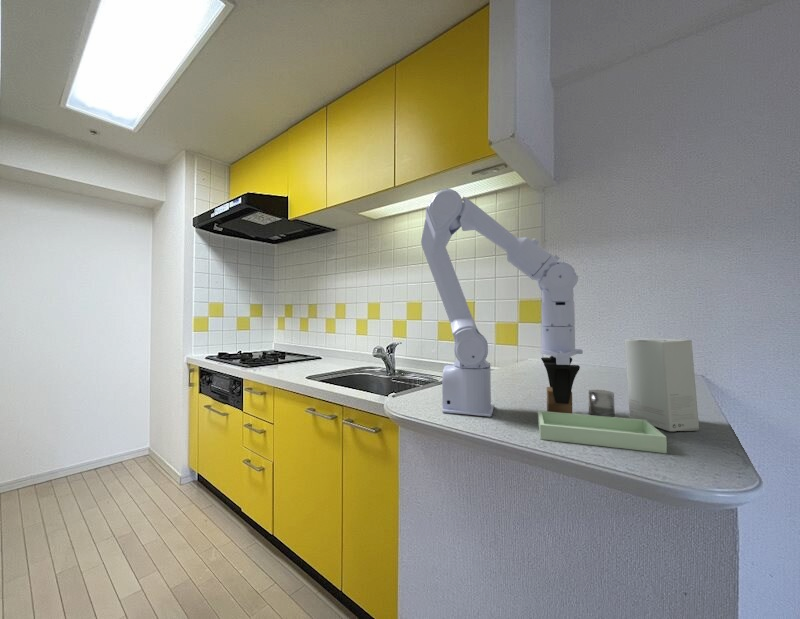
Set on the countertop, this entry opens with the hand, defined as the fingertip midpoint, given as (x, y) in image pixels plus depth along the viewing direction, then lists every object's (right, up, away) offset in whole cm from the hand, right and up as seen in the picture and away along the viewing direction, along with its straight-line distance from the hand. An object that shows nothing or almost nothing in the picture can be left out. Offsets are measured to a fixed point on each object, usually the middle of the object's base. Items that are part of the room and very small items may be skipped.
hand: (559, 398), depth 63 cm
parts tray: (0, -3, -11) cm, 11 cm away
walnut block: (0, -3, 0) cm, 3 cm away
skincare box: (+15, -3, -5) cm, 16 cm away
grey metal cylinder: (+6, -3, -2) cm, 8 cm away
